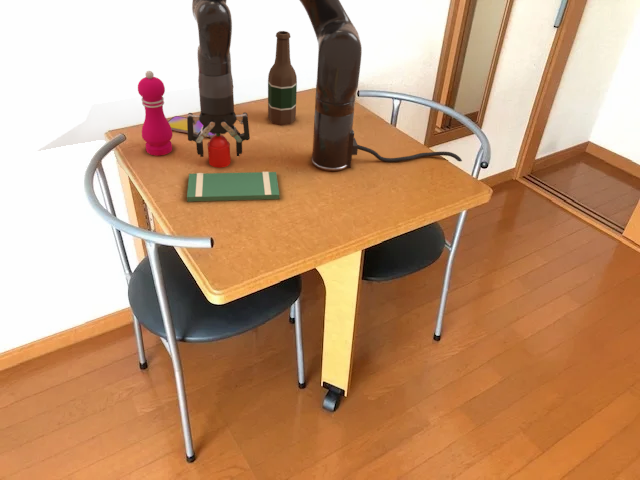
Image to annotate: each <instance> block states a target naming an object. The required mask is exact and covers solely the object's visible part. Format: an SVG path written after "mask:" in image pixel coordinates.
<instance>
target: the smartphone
mask: <svg viewBox="0 0 640 480" xmlns="http://www.w3.org/2000/svg"><path fill="white" fill-rule="evenodd" d="M167 121H168V123H169V124H170V126H171V129H172V131H174V132H180V133H183V134H184V133H185V134H188V129H187V117H185V116H180V115H174V116H172V118H170V119H168V120H167ZM202 127H203V125H202V123H201V122H200V121H197V123H196V124H195V125H193V133H194V134H198V133H199V131H200V130H201V128H202ZM214 135H216V134H212V133H210V132H209V133H208V135H207V136H206V137H205V138H210V139H211V138H212V137H213V136H214Z"/></svg>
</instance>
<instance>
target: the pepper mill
mask: <svg viewBox="0 0 640 480" xmlns="http://www.w3.org/2000/svg"><path fill="white" fill-rule="evenodd" d="M165 88H166V87H165V85H164V82H163V81H162V80H161V79H160V78H158V77H156V76H154V72H153V71H152V70H147V71H146V72H145V77H143V78H141V79H140V81H139V82H138V84H137V92H138V94H139V95H140V97H141V105H142V106H143V107H144V111H145V113H144V115H145V116H144V121H143V125H142V127H141V128H142V129H141V137H142V139H143V141H144V142H145V151H146V153H147V154H149V155H151V156H157V157H158V156H159V157H160V156H165V155H168V154H169V153H171V152H173V144H172V143H173V142H172V141H171V140H172V139H173V130H172V129H171V126H170V124H169V123H168V121H169V120H168V119H167V118H166V115H165V112H164V107H163V106H164V104H165V101H164V99H165V97H164V94H165V92H166V89H165Z"/></svg>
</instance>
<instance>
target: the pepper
mask: <svg viewBox="0 0 640 480" xmlns="http://www.w3.org/2000/svg"><path fill="white" fill-rule="evenodd" d="M207 156H208V164H209V165H210V166H211V167H212V168H219V169H220V168H226V167H228V166H230V164H231V163H232V162H231V161H232V160H231V144H230V141H229V140H228V139H227V137H226V136H224V134H221V133H217V134H216V135H214V136H213V137H212V138H210V139H209V141H208V142H207Z"/></svg>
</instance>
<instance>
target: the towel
mask: <svg viewBox="0 0 640 480" xmlns="http://www.w3.org/2000/svg"><path fill="white" fill-rule="evenodd" d="M278 182H279V181H278V176H277V171H255V172H252V171H251V172H250V171H249V172H206V173H205V172H196V173H188V180H187V192H186V201H187V202H188V203H189V202H222V201H224V202H225V201H226V202H227V201H254V200H255V201H257V200H259V201H260V200H280V189H279V183H278Z"/></svg>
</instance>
